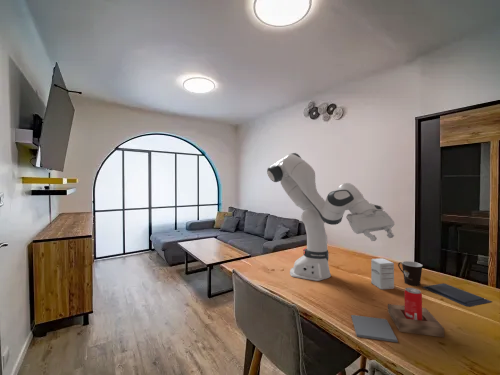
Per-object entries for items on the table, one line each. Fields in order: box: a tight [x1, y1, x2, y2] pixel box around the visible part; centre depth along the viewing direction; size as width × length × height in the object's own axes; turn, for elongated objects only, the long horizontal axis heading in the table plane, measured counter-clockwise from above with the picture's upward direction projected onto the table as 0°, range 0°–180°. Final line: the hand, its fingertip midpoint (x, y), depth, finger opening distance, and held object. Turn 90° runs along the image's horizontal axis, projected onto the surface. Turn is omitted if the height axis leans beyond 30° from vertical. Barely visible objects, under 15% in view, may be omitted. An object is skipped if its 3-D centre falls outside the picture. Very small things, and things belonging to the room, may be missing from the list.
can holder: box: [387, 303, 445, 338], centre depth 85 cm, size 13×13×3 cm
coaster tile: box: [350, 314, 398, 343], centre depth 82 cm, size 12×12×1 cm
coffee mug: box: [397, 260, 423, 287], centre depth 120 cm, size 12×9×10 cm
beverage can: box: [404, 287, 423, 321], centre depth 85 cm, size 5×5×12 cm
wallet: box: [421, 283, 493, 308], centre depth 107 cm, size 20×2×15 cm
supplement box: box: [370, 257, 395, 290], centre depth 116 cm, size 7×7×13 cm
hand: (383, 238), depth 95 cm, fingers open, 8 cm apart
